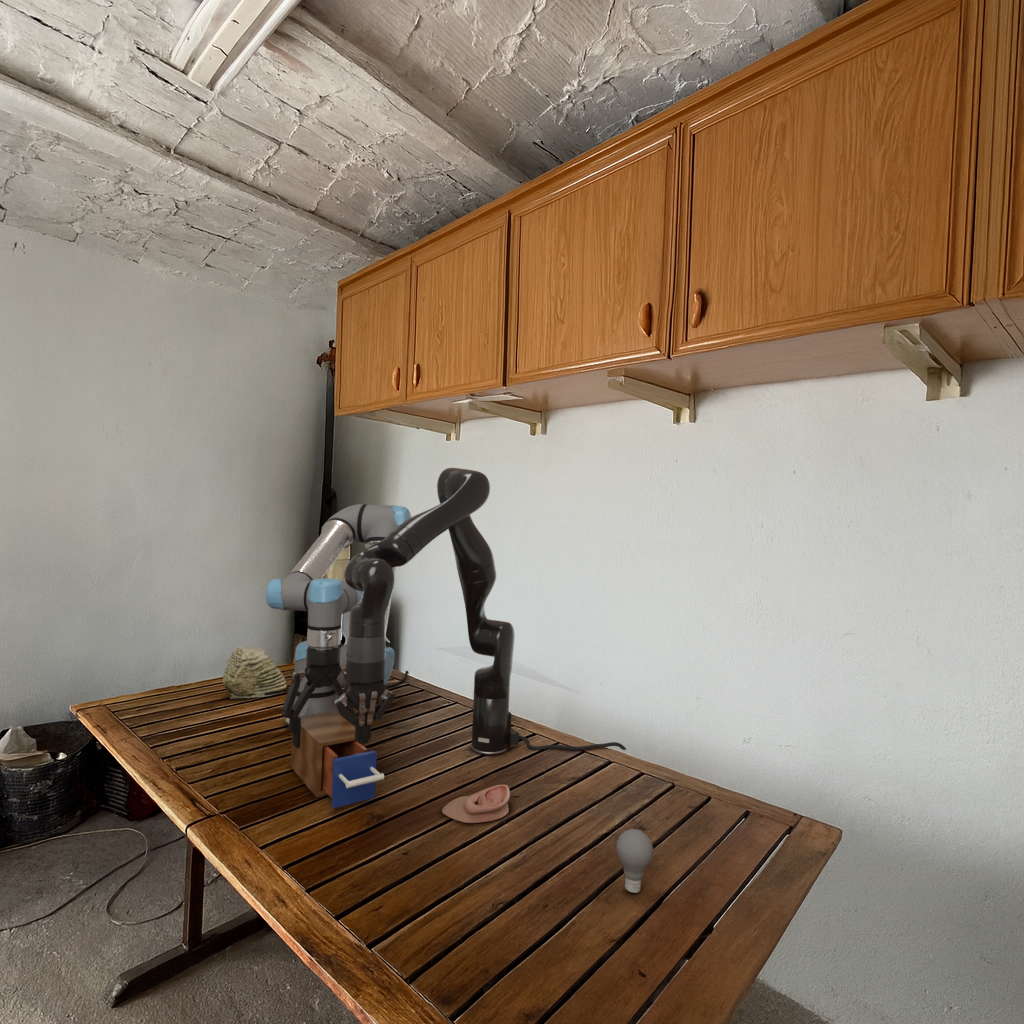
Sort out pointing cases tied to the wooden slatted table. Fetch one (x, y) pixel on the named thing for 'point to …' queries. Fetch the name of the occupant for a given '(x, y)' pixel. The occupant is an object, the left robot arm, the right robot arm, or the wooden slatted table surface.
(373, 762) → the drawer
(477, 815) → the anatomical model
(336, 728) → the cabinet
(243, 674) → the fossil
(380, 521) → the left robot arm
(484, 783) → the wooden slatted table surface
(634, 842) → the light bulb
